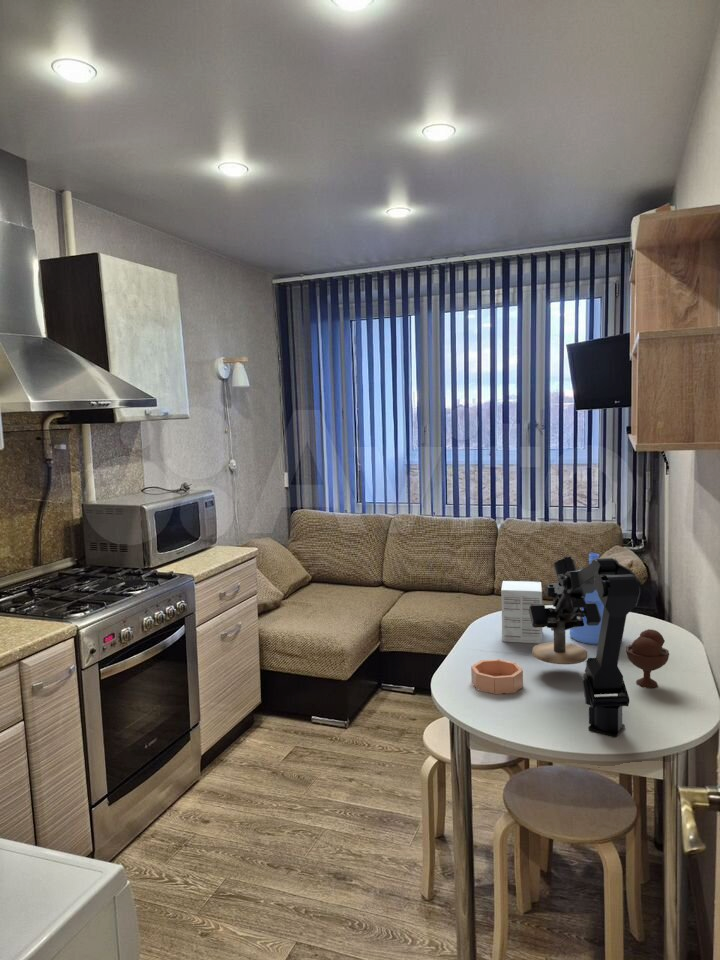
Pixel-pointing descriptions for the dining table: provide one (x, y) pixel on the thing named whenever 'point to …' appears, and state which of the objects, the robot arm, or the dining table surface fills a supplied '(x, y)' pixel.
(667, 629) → the dining table surface
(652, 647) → the ice cream bowl
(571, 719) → the dining table surface
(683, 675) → the dining table surface
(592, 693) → the robot arm
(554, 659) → the walnut lid
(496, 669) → the terracotta bowl
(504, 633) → the supplement box
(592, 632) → the water jug
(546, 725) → the dining table surface
